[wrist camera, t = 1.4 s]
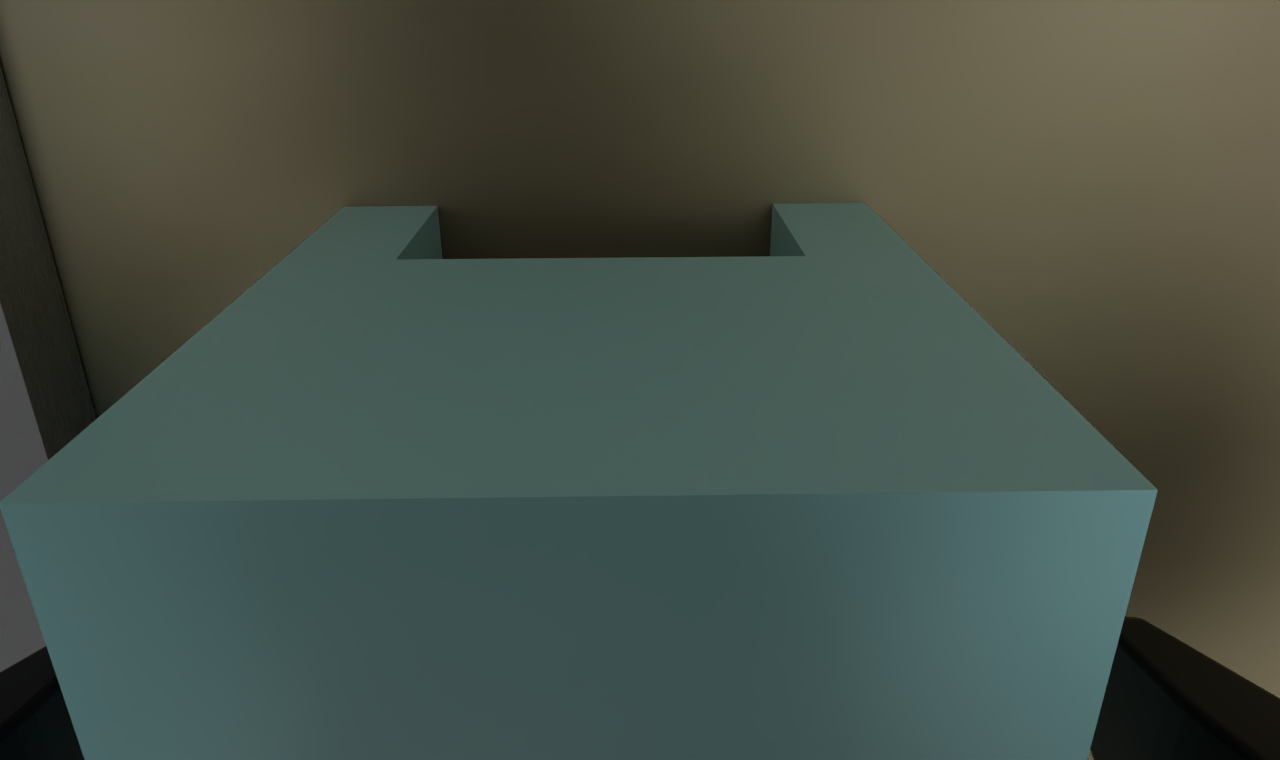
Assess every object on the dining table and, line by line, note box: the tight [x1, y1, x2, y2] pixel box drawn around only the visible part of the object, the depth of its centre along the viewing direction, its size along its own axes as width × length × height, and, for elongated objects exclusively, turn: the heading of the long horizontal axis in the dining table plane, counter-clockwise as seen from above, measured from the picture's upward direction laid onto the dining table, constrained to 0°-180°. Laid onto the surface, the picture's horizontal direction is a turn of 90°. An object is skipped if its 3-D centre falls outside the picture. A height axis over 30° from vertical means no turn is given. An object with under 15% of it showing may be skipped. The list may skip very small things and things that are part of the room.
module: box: [0, 203, 1158, 760], centre depth 8 cm, size 7×6×6 cm
